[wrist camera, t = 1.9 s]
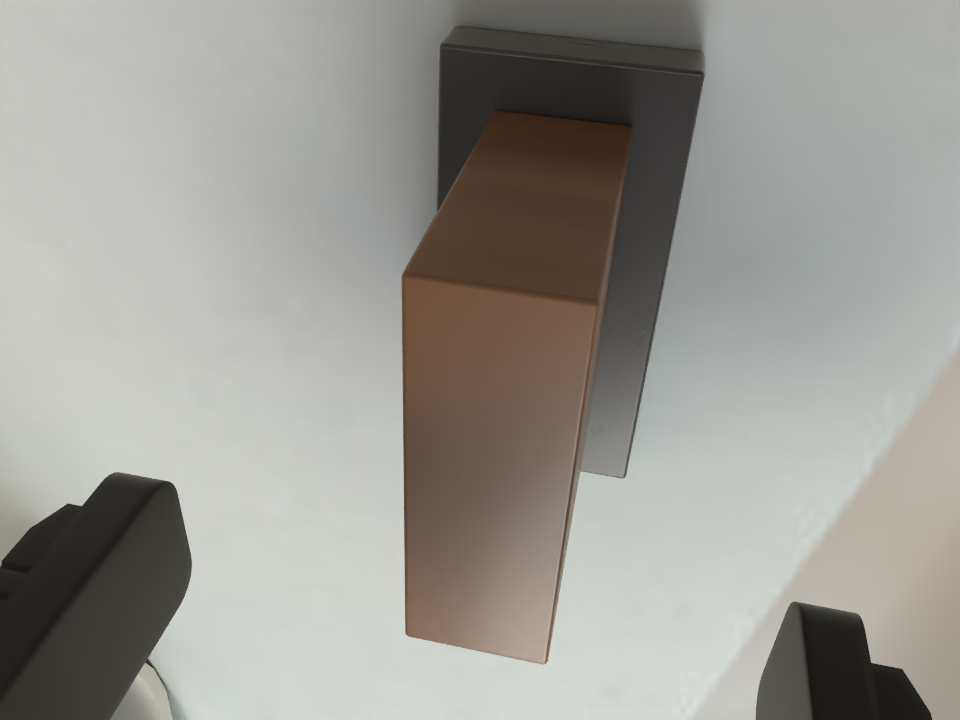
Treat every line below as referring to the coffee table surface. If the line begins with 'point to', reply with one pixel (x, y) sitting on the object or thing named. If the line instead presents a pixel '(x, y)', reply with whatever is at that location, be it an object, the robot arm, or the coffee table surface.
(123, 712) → the mug
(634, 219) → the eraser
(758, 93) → the coffee table surface
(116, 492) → the robot arm
